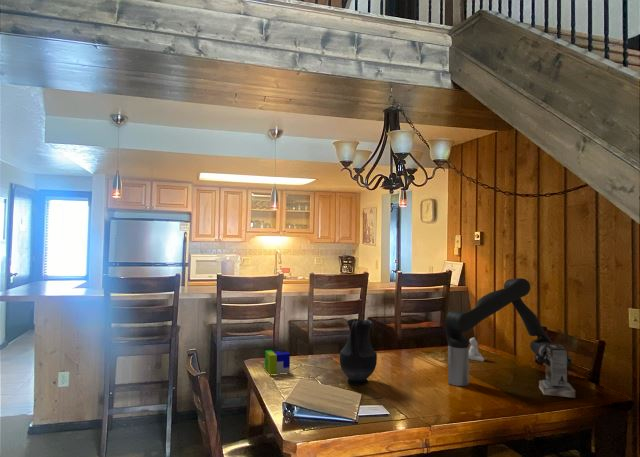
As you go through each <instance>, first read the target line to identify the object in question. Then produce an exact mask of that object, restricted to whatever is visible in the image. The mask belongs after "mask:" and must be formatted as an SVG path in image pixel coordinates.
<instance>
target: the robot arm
mask: <svg viewBox="0 0 640 457" xmlns="http://www.w3.org/2000/svg"><path fill="white" fill-rule="evenodd" d="M530 291H531V283H530V281H529V280H527V279H525V278H522V277H519V278H511V279H507V280H505V282H504V284H503V288H501V289H497V290H495V291H491V292H489V293H487V294H485V295H483V296H481V297H479V299H478V300H477V302H476V305H475V307H474V308H472V309H470V310H468V311H464V312H463V311H460V310H450V311H449V312H447V314H446V318H445V337H446V341H447V380H448V381H447V383H448V385H452V386H455V387H456V386H457V387H466V386H469V385H470V365H469V364H470V359H469V349H470V346H469V345H470V342H469V340H468V339H467V337H465V336H464V335H463V333H467V332H469V331H470V330H472V329H473V328H475V327H476V326H477V325H478V324H479V323H481V322H482V321H484V320H486V319H487V318H489V317H490V316H493V315H494V314H495V313H497V312H498V311H500V310H502V309H504V308H505V307H506V306H508V305H509V304H512V306H513V307H514V308H515V310H516V312H517V313H518V315H519V317H520V318H521V320H522V322H523V325H524V326H525V329H526V331H527V333H528V335H529V336H530V337H539V338H537V339H533V340H532V341H530V344H529V347H530V349H531V351H532V353H534V354H535V359H536V361H537V362H538V363H539V364H545V366H546V365H548V366H550V361H549V360H548V359H547V357H546V344H554V342H553V340H552V339H551V338H550V336H548V335H547V333H546V332H545V330H544V329H543V327H542V324H541V323H540V320H539V318H538V317H537V315H536V314H535V313H534V312H533V311H532V309H531V308H530V307H528V306H527V305H526V304H525V303H524V301H523V299H522V298H523V297H525V296H527V295H528V294H529V293H530ZM572 363H573V362H572V358H571V356H570V355H567V368H569V367H570V366H572V365H573V364H572Z"/></svg>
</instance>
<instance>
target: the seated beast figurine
mask: <svg viewBox="0 0 640 457" xmlns="http://www.w3.org/2000/svg"><path fill="white" fill-rule="evenodd" d="M468 342H469V345H470V346H469V360H472V361H475V362H476V361H477V362H481V363H482V362H484V361H485V358H484V357H483V355H482V354H481V353H480V352H479V348H478V345H479V344H478V340H477V339H476V337H471V338H469V340H468Z"/></svg>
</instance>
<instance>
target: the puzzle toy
mask: <svg viewBox="0 0 640 457" xmlns="http://www.w3.org/2000/svg"><path fill="white" fill-rule="evenodd" d="M290 364H291V354H290V353H289V352H288V351H287V350H286V349H284V348H281V349H280V348H279V349H272V350H270V349H269V350H264V370H265V369H266V371H267V372H268V373H269V374H270V375H271V374H280V373H289V372H291V371H290V369H291V365H290ZM266 371H265V372H266ZM267 372H266V373H267ZM268 373H267V374H268Z"/></svg>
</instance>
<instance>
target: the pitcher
mask: <svg viewBox="0 0 640 457" xmlns="http://www.w3.org/2000/svg"><path fill="white" fill-rule="evenodd" d="M346 323H347V325H348V327H349V336H348V339H347V341H346V343H345V345H344V347H343V348H341V350H339V351H340V352H339V365H340V368H341V370H342V372H343V374H345V375H346V377H347V383H348V384H349V385H352V386H365V385H368V384H369V380H368V378H369V377H371V375H372V374H373V373H374V372H375V370H376V366H377V361H378V355H377V354H378V353H377V352H376V351H375V349H374V348H373V346H372V343H371V341H370V329H371V327H372V325H373V322H372V321H371V320H370V319H365V320H364V319H359V318H352V319H347V320H346Z"/></svg>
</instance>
